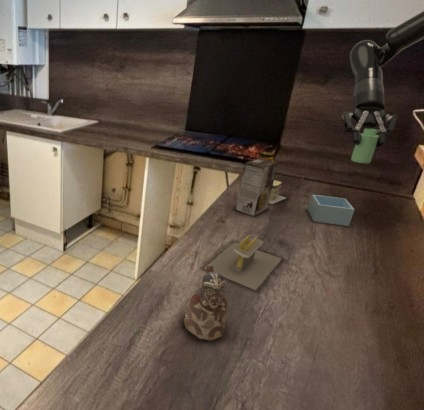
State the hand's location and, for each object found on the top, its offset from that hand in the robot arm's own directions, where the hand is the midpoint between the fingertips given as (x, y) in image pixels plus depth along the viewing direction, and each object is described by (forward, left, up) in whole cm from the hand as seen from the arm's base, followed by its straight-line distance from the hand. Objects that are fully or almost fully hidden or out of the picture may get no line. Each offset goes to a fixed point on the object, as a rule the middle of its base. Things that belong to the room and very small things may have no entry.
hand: (368, 144), depth 104 cm
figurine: (+40, +68, -23) cm, 82 cm away
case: (+6, +4, -23) cm, 24 cm away
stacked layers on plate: (+22, -8, -23) cm, 33 cm away
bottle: (0, -2, -6) cm, 6 cm away
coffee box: (+28, +6, -23) cm, 37 cm away
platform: (+32, +42, -23) cm, 57 cm away
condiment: (+24, -24, -23) cm, 41 cm away
